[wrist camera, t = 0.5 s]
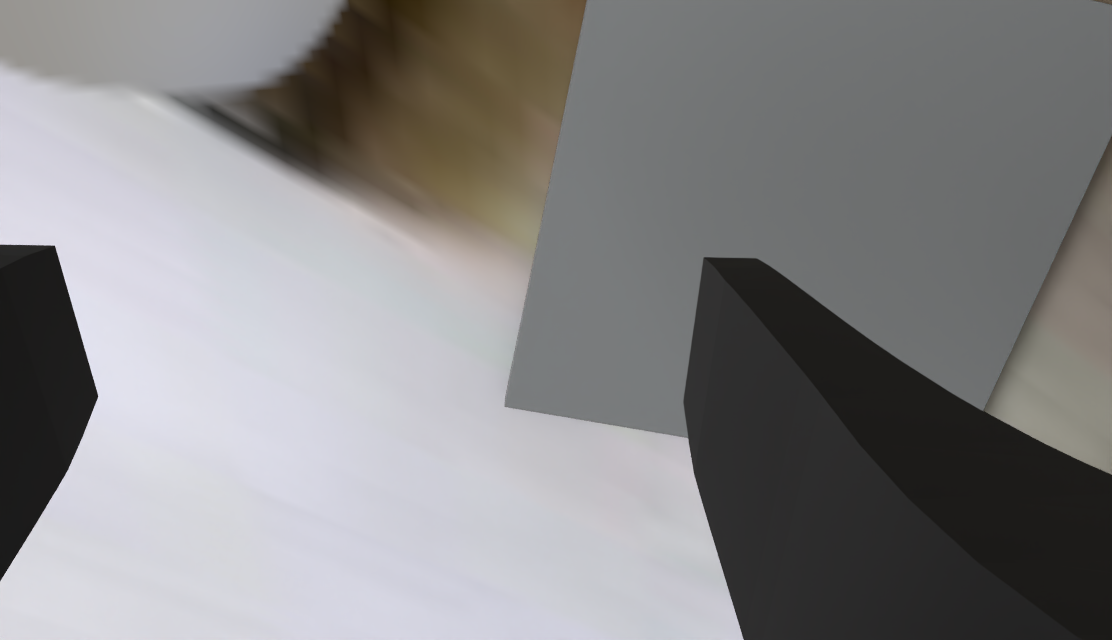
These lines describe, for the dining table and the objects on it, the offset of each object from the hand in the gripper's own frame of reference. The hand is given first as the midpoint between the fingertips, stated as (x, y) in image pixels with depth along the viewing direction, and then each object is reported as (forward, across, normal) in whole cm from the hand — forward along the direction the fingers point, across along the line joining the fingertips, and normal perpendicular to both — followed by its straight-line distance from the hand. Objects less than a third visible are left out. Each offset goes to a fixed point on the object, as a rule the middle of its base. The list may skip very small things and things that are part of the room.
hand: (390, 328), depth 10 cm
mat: (+10, -8, +3) cm, 14 cm away
